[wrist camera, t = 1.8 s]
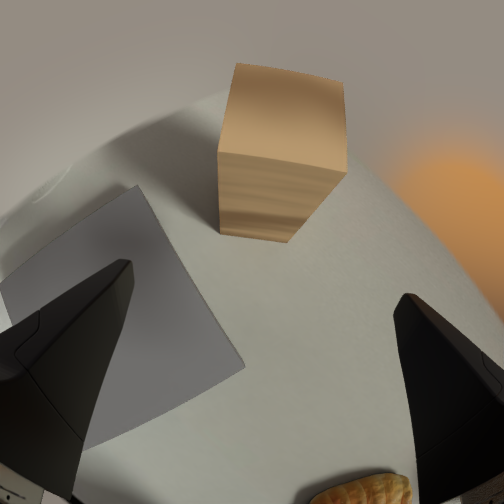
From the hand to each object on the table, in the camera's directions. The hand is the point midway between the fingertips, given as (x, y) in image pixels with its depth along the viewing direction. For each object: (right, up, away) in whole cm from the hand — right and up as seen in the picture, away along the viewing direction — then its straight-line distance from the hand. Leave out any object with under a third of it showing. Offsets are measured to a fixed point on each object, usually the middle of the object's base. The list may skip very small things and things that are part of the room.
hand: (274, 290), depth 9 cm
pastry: (+9, -22, +10) cm, 25 cm away
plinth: (-11, -4, +11) cm, 16 cm away
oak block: (0, +5, +14) cm, 15 cm away
